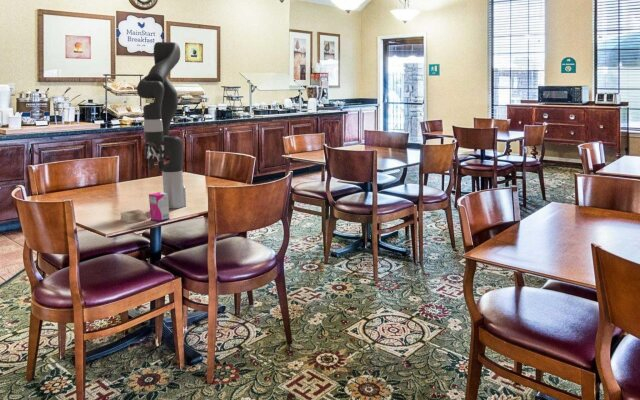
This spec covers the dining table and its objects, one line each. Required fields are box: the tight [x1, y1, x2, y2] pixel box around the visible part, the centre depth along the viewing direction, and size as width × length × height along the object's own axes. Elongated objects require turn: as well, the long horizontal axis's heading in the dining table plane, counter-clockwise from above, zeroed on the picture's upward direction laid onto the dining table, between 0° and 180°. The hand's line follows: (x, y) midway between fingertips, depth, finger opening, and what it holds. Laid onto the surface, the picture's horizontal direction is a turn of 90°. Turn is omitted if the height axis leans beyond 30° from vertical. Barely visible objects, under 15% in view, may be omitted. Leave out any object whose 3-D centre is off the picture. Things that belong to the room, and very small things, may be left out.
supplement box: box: [148, 191, 171, 223], centre depth 231 cm, size 6×6×12 cm
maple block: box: [120, 209, 148, 224], centre depth 232 cm, size 8×8×4 cm
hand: (156, 168), depth 228 cm, fingers open, 8 cm apart
